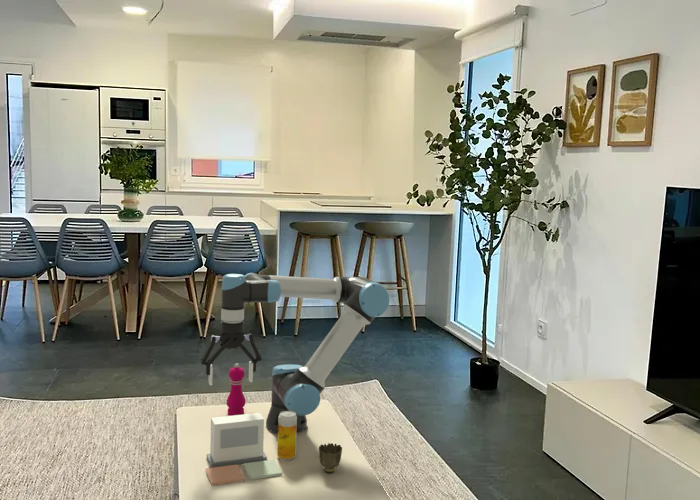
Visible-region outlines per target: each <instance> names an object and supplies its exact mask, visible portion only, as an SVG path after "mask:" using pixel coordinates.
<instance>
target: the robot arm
mask: <svg viewBox="0 0 700 500" xmlns="http://www.w3.org/2000/svg"><path fill="white" fill-rule="evenodd" d="M280 298H297V299H315V300H316V299H318V300H319V299H320V300H331V301H333V302H334V303H342V304H343V309H344V311H343V312H342V313H341V315H340V316H339V318H338V320H337V321H336V322H335V323H334V325H333V326H332V328H331V329H330V331H329V332H328V333H327V335H326V336H325V337H324V339H323V340H322V342H321V343H320V345H319V346H318V348H317V349H316V350H315V352H313V354H312V356H311V357H310V358H309V359H308V360H307V362H306V363H305V365H301V364H288V363H287V364H279V365H276V366H274V367H273V368H272V373H271V402H270V403H271V405H270V409H269V411H268V414H267V416H266V421H265V428H267V430H268V431H271V432H273V433H277V434H278V417H279V415H280V413H281V412H283V411H292V412H295V413H296V416H297V431H296V434H297V433H301V432H303V431H305V430H306V429H307V428H308V427H307V426H308V419H307V416H308V415H310V414H312V413H313V412H315V411H316V410H317V409H318V407H319V405H320V403H321V394H322V392H323V391H324V390H325V388H326V382H325V381H326V379H327V378H328V376H329V375H330V373H331V372H332V371H333V370H334V369H335V366H336V365H337V363H338V362H339V361H340V359H341V358H342V357H343V355H344V354H345V353H346V351H347V350H348V348H349V347H350V345H351V344H352V343H353V341H354V340H355V338H356V337H357V336H358V335H359V333H360V331H361V330H362V329H363V328H364V326H367V325H371V323H372V322H373V320H374V319H375V318H376V317H377V318H378V317H380V316H383V314H384V313H385V312H387V310H388V309H389V305H390V295H389V292H388V290H387V289H386V287H385V286H383V285H382V284H381V283H379V282H378V281H374V280H371V279H369V278H367V277H362V276H335V277H334V278H321V277H305V276H303V277H302V276H286V275H271V274H269V275H268V274H267V275H266V274H258V273H255V272H249V273H246V274H245V275H244V274H241V273H228V274H224V275H223V276H222V282H221V307H220V308H221V311H220V313H221V314H220V319H221V322H220V334H219V335H214V334H211V335H210V341H209V343H208V345H207V347H206V348H205V351H204V352H203V354H202V356H201V358H200V363H201V365H203V366H205V375H206V376H208V384H209V386H213V373H214V369H213V367H214V366H213V363H214V361H216V359H218V357H219V356H220V355H221V353H222V352H223V351H225V349H227V350H231V349H233V350H234V349H238V348H240V349H241V350H242V351H243V352H244V354H245V355H246V356H247V357H248V358H249V359H250V361H248V381H249V383H253V382H254V381H253V379H254V373H255V372H256V371H257V363H258V362H260V361H263V360H262V359H263V358H262V356H261V354H260V353H259V350H258V348H257V346H256V344H255V341H254V335H253V334H252V333H247V334H244V329H245V326H244V325H245V322H244V320H245V304H249V303H250V304H251V303H252V304H254V303H255V304H256V303H259V304H260V303H269V304H270V303H276V302H279V301H280ZM245 340H246V341H247V342H248V343H249V345H250V347H251V349H252V352H253V353H254V356H255V357H254V356H253V355H252V353H251V352H250V351H249V350H248V349H247V347H246V346H245V345H244V344H243V342H244V341H245ZM218 341H220V342H221V343H219V345H218V347H217V348H216V349H215V350H214V351H213V349H214V347H215V344H216V343H218ZM211 352H212V353H211Z"/></svg>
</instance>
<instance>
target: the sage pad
mask: <svg viewBox="0 0 700 500" xmlns="http://www.w3.org/2000/svg"><path fill="white" fill-rule="evenodd" d="M242 466H243V469H244V470H245V472H246V473H247V476H248V477H249V478H250V480H252V481H253V480H258V479H263V478H271V477H277V476H279V477H280V476H283V471H282V470H281V468H280V467H279V465H278V463H276V461H275V459H268V460H266V461H258V462H251V463H243V465H242Z"/></svg>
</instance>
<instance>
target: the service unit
mask: <svg viewBox="0 0 700 500" xmlns="http://www.w3.org/2000/svg"><path fill="white" fill-rule="evenodd" d="M264 428H265V418H264V417H263V416H262V414H261V413H260V412H254V413H245V414H243V415H233V416H230V415H225V416H217V417H210V450H209V451H210V452H209V453H206V460H207V463H208V465H209V466H210V467H209V468H213V467H221V466H228V465H236V464H237V465H238V466H243V463H251V462H258V461H266V460H267V459H268V457H267V455H266V453H265V452H264V437H265V436H264V434H265V431H264V430H265V429H264Z"/></svg>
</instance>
